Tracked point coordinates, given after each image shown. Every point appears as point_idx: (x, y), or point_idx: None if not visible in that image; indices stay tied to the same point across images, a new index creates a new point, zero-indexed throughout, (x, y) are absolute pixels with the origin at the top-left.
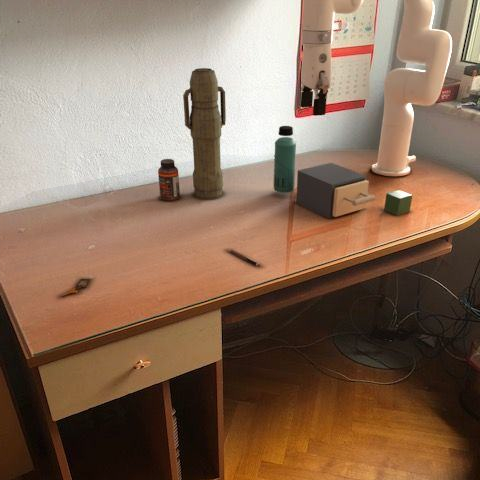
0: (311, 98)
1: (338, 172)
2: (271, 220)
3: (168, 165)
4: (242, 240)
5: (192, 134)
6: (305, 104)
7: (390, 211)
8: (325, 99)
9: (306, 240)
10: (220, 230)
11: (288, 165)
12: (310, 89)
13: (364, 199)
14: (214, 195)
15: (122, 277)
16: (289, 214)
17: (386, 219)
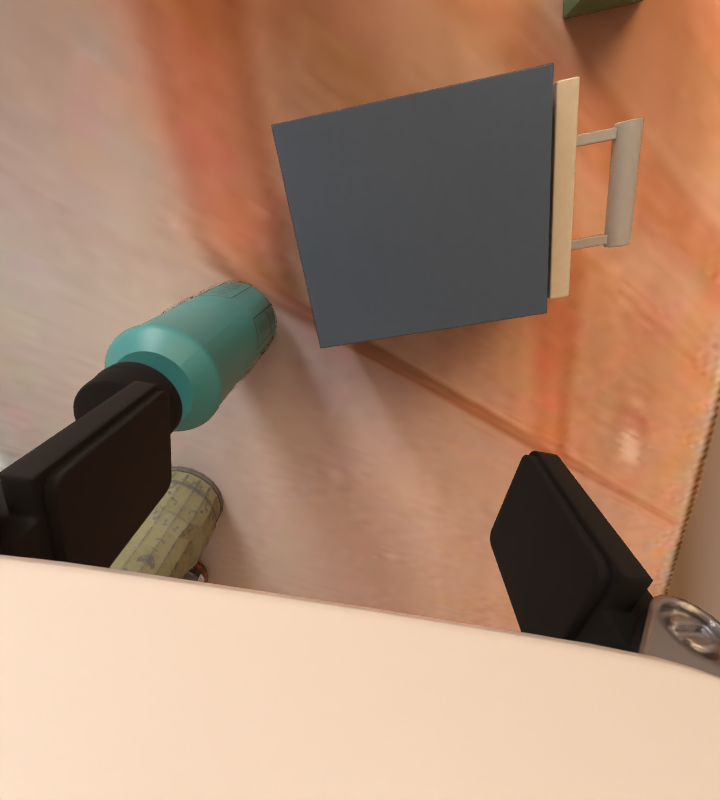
0: (118, 445)
1: (429, 187)
2: (423, 437)
3: None
4: (489, 532)
5: None
6: (158, 469)
7: (604, 7)
8: (638, 580)
9: (581, 419)
10: (416, 548)
11: (249, 354)
12: (13, 543)
13: (635, 189)
14: (217, 503)
15: None
16: (409, 378)
17: (634, 81)
